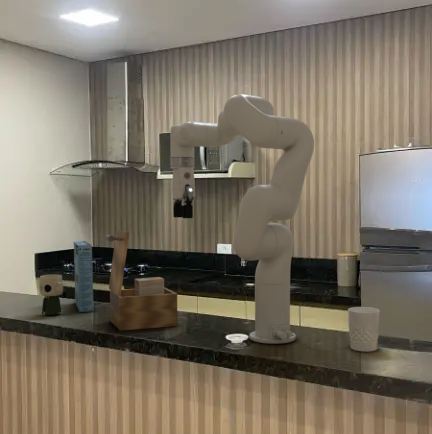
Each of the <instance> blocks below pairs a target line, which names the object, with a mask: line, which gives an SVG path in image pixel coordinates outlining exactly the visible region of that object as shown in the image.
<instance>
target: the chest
mask: <svg viewBox="0 0 432 434" xmlns="http://www.w3.org/2000/svg"><path fill="white" fill-rule="evenodd" d="M109 315H110V316H109V319H110V322H111V324H113V325H114V327H115V328H117V329H118V331H120V332H121V331H133V330H143V329H144V330H145V329H156V328H157V329H159V328H170V327H178V293H177V292H175V291H173V290H171V289H168V288H167V287H165V286H164V294H158V295H143V296H135V288H126V289H125V288H122V290H121V296H118V295H116V294H115V293H114V292H113V291H111V290H110V289H109Z"/></svg>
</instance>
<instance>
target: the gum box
mask: <svg viewBox="0 0 432 434" xmlns="http://www.w3.org/2000/svg"><path fill="white" fill-rule="evenodd" d="M73 261H74V265H73V266H74V298H75V300H74V301H75V302H74V304H75V305H76V308H77V310H78V312H79V313H86V312H87V313H88V312H94V280H93V279H94V278H93V277H94V276H93V245H92V244H91V243H89V242H88V241H86V240H84V241H83V240H80V241H79V240H77V241H73Z"/></svg>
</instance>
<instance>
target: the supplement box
mask: <svg viewBox="0 0 432 434" xmlns="http://www.w3.org/2000/svg"><path fill="white" fill-rule="evenodd" d="M164 287H165V278H163V277H160V276H156V277H142V278H134V289H135V296H143V295H158V294H164Z"/></svg>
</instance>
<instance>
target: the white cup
mask: <svg viewBox="0 0 432 434" xmlns="http://www.w3.org/2000/svg"><path fill="white" fill-rule="evenodd" d="M347 315H348V316H347V317H348V321H347V322H348V337H349V347H350V350H353V351H357V352H364V353H365V352H375V351H377V350H378V345H379V344H378V343H379V340H378V339H379V333H380V316H381V310H380V309H379V308H376V307H369V306H354V307H353V306H352V307H349V308H348V309H347Z"/></svg>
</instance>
